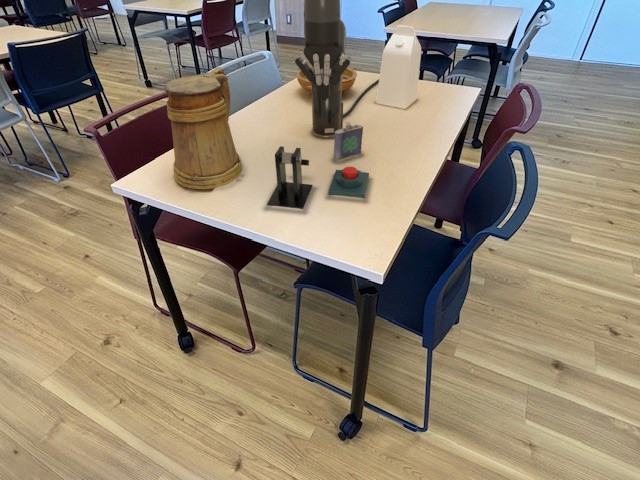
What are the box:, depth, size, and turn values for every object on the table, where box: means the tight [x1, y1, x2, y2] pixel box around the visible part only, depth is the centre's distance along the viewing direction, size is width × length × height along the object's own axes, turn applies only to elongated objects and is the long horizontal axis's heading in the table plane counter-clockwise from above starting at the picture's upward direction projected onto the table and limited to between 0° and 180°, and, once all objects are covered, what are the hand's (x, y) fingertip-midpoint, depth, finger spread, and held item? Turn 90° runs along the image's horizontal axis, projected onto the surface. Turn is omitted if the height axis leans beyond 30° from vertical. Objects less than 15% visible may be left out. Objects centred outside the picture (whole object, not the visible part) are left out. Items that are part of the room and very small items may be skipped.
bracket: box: [266, 146, 314, 210], centre depth 91 cm, size 11×9×13 cm
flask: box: [333, 121, 364, 161], centre depth 108 cm, size 9×3×11 cm, turn 121°
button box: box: [328, 168, 370, 199], centre depth 97 cm, size 11×9×4 cm
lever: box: [282, 151, 310, 167], centre depth 93 cm, size 12×6×2 cm
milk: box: [375, 24, 422, 110], centre depth 140 cm, size 12×12×26 cm
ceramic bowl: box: [295, 65, 358, 94], centre depth 153 cm, size 30×24×8 cm
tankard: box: [164, 66, 244, 190], centre depth 99 cm, size 18×24×25 cm
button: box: [343, 166, 358, 179], centre depth 96 cm, size 4×4×2 cm
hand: (323, 99), depth 90 cm, fingers closed
